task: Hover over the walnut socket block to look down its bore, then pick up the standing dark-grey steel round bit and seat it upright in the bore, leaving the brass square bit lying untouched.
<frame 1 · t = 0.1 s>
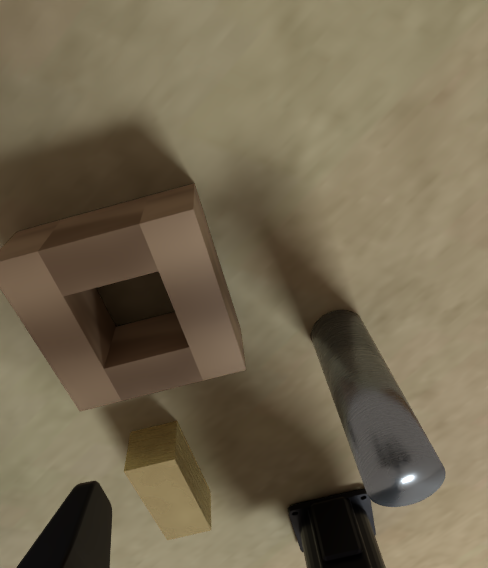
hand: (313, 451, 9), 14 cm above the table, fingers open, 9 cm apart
round bit: (337, 332, 26), on the table
square bit: (173, 460, 31), on the table
socket block: (138, 284, 23), on the table
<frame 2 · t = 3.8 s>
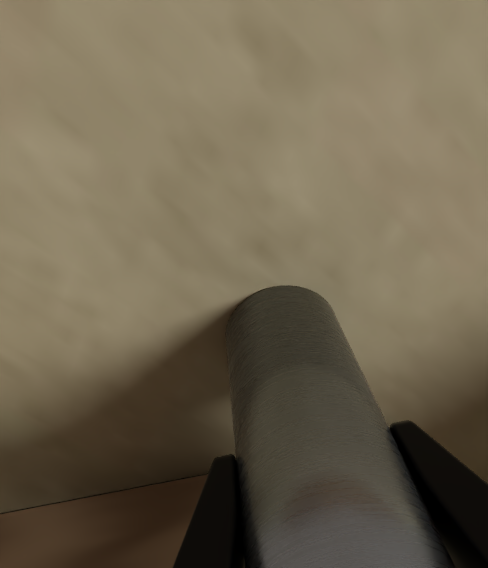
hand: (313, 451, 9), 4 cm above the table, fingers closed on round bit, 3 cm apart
round bit: (281, 333, 12), on the table, touching gripper
socket block: (157, 556, 18), on the table
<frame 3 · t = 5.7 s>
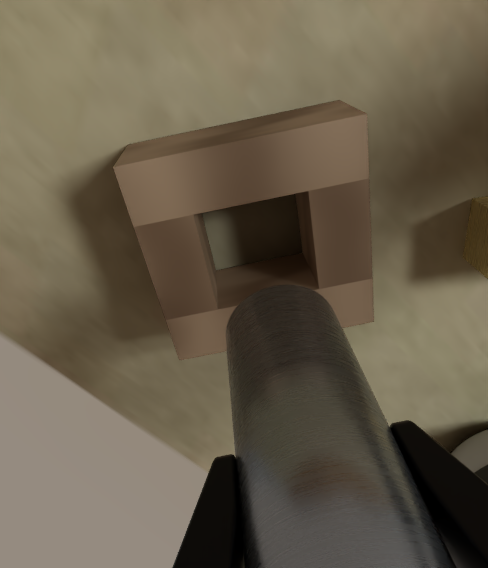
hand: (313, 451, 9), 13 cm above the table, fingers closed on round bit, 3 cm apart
round bit: (281, 332, 12), point 9 cm above the table, touching gripper
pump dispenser: (485, 449, 31), on the table
socket block: (251, 221, 20), on the table
when the fingers open (5 cm above the table, at t = 7.7 s): round bit drops 1 cm, resting in socket block.
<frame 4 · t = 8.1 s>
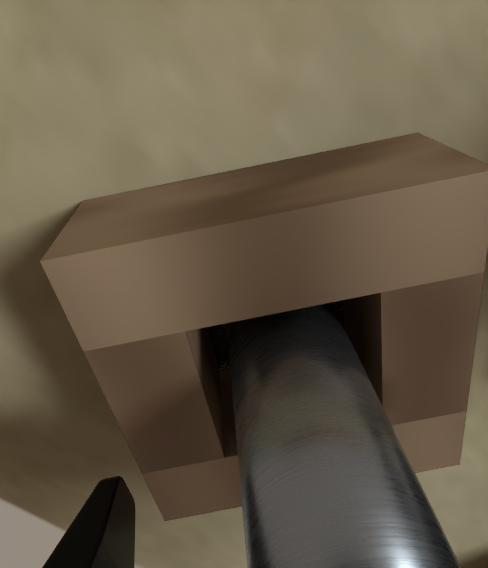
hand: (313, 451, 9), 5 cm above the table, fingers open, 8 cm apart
round bit: (275, 304, 14), resting in socket block
socket block: (273, 306, 14), on the table
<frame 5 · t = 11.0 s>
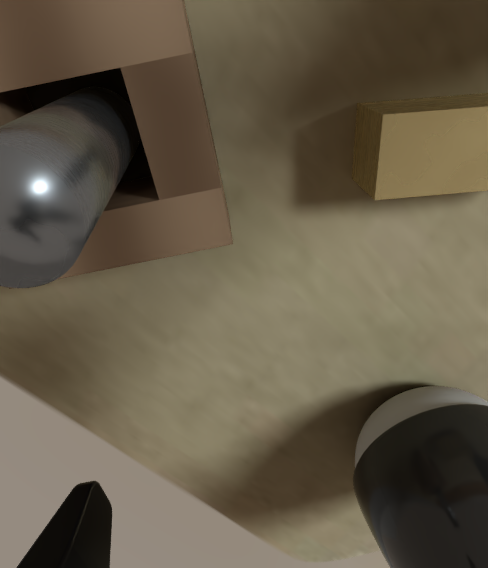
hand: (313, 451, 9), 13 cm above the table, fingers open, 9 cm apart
round bit: (100, 129, 18), resting in socket block
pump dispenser: (410, 415, 28), on the table
square bit: (441, 134, 19), on the table
socket block: (99, 131, 18), on the table
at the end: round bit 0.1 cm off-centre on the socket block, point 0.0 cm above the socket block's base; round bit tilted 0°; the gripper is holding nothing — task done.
